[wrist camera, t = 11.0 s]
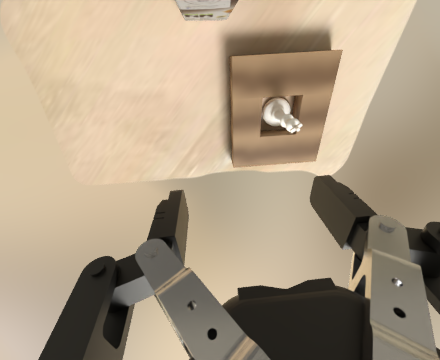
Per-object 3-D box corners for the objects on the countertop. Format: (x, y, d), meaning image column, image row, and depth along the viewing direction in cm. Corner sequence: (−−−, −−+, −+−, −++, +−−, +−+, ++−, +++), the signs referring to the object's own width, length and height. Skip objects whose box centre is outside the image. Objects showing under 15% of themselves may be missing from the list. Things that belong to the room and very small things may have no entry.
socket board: (229, 56, 30) (232, 56, 28) (331, 50, 31) (342, 49, 28) (231, 160, 40) (233, 167, 37) (308, 154, 40) (315, 161, 38)
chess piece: (294, 113, 36) (321, 131, 27) (271, 130, 37) (290, 153, 29) (281, 91, 33) (307, 103, 25) (257, 110, 35) (273, 127, 26)
